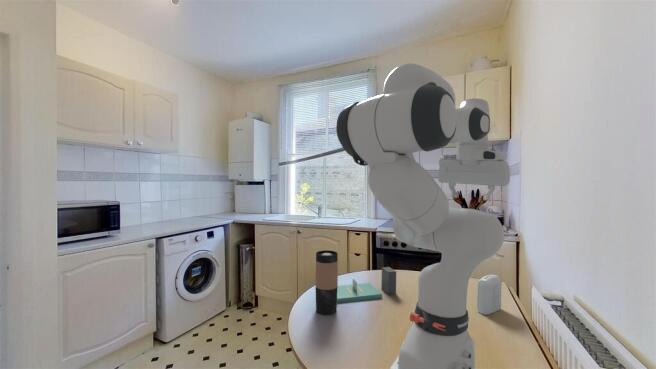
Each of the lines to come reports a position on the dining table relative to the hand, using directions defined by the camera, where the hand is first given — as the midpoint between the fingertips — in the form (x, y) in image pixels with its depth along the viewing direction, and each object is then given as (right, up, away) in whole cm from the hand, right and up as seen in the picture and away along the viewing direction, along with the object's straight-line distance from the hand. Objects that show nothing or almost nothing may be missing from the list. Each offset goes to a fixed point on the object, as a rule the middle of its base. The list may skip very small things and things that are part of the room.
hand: (470, 198), depth 88 cm
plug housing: (-20, -39, +27) cm, 51 cm away
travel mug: (-45, -40, +10) cm, 61 cm away
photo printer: (+12, -40, +11) cm, 43 cm away
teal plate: (-34, -39, +24) cm, 57 cm away
